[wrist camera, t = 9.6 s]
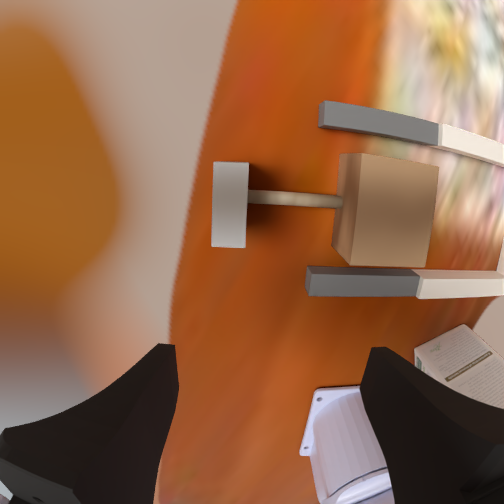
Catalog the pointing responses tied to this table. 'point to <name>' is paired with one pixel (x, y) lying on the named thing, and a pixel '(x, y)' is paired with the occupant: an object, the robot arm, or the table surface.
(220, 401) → the table surface
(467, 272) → the frame
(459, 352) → the syrup box
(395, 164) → the lopsided dumbbell
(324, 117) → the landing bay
